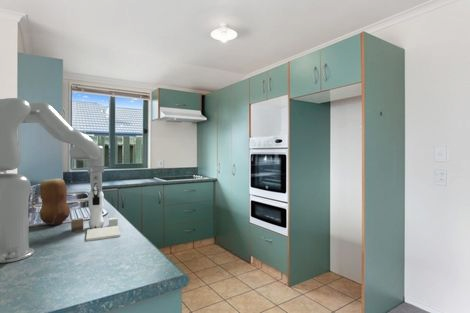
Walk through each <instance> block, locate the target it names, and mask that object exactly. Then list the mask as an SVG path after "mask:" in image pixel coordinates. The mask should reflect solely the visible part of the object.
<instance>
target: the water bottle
mask: <svg viewBox="0 0 470 313" xmlns="http://www.w3.org/2000/svg"><path fill="white" fill-rule="evenodd" d="M94 187H95V183H94ZM94 191H95V190H94ZM97 191H98V190H97ZM92 197H93V192H92V191H91V190H90V191H89V193H88V195H87V198H88V209H89V214H90V215H89V216H90V217H89V221H88V226H89V228H90V229H95V228H103V227H104V224H105V219H104V217H103V216H104V215H103V208H104V207H105V205H104V197H105V195H104V192H103V190H102V191H99V197H100V204H99V205H93V202H92Z"/></svg>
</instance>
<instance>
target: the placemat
mask: <svg viewBox="0 0 470 313" xmlns="http://www.w3.org/2000/svg"><path fill="white" fill-rule="evenodd" d="M120 237H121V232H120V228H119V225H118V226H112V227H109V226H105V227H104V226H103V227H100V228H96V227H95V228H94V229H91V228H90V229H89V228H88V229H87V230H86V238H85V242H91V241H98V240H105V239H112V238H120Z"/></svg>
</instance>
